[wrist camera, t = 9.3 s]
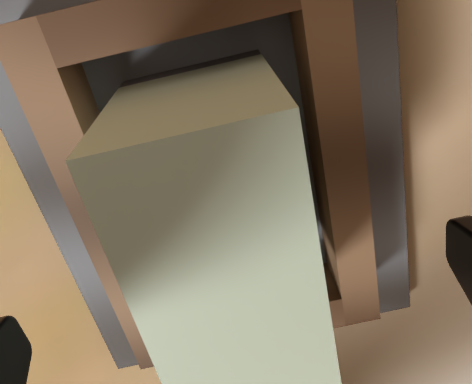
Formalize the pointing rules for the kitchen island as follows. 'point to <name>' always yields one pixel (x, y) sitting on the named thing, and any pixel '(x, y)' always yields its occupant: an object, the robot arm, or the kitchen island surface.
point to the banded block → (212, 224)
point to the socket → (198, 51)
